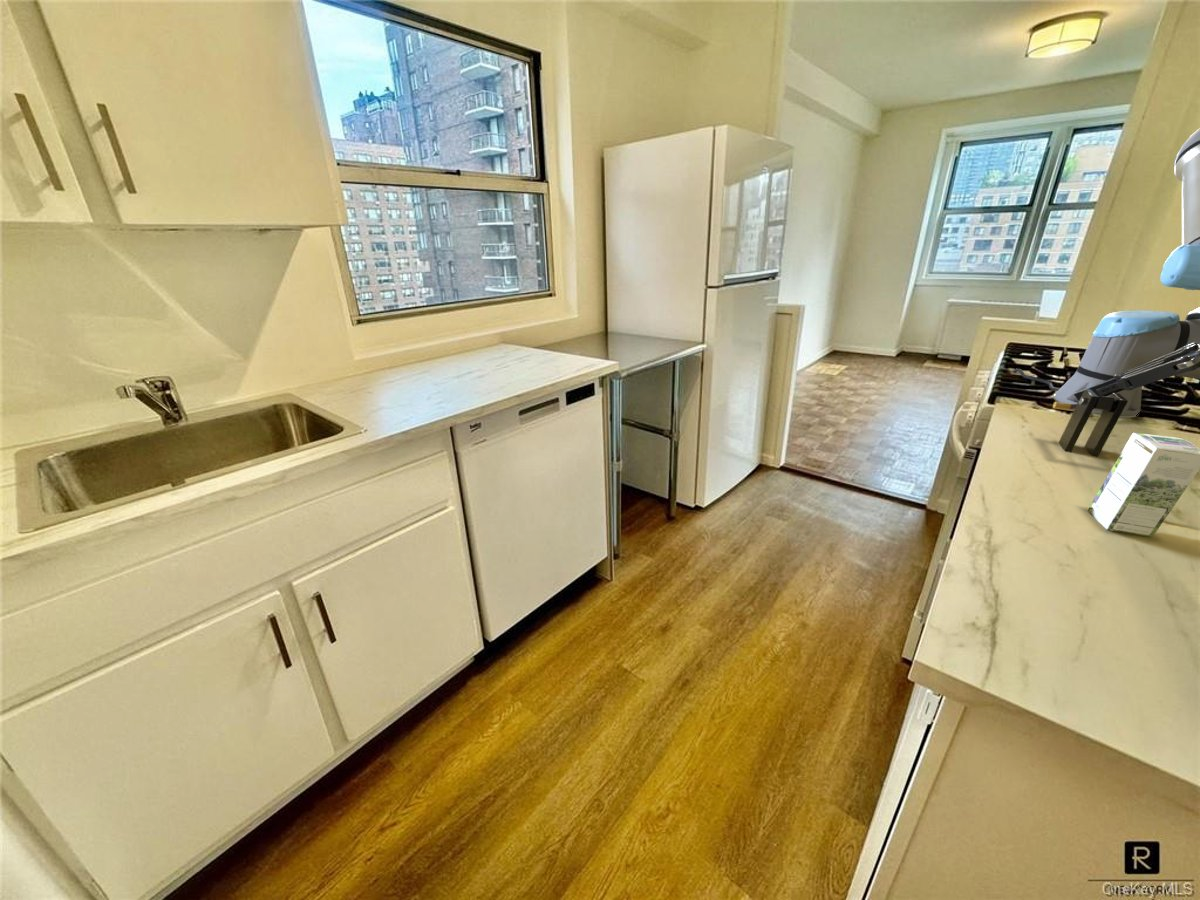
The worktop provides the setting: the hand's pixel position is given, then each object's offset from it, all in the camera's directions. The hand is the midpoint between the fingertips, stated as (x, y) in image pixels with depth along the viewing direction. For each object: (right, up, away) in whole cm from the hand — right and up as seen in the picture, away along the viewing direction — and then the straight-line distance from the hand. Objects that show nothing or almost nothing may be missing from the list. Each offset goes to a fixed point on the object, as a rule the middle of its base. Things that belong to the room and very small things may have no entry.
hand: (1078, 398), depth 101 cm
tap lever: (-3, -3, -5) cm, 6 cm away
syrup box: (-19, -23, -26) cm, 39 cm away
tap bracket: (-6, -12, -5) cm, 14 cm away
